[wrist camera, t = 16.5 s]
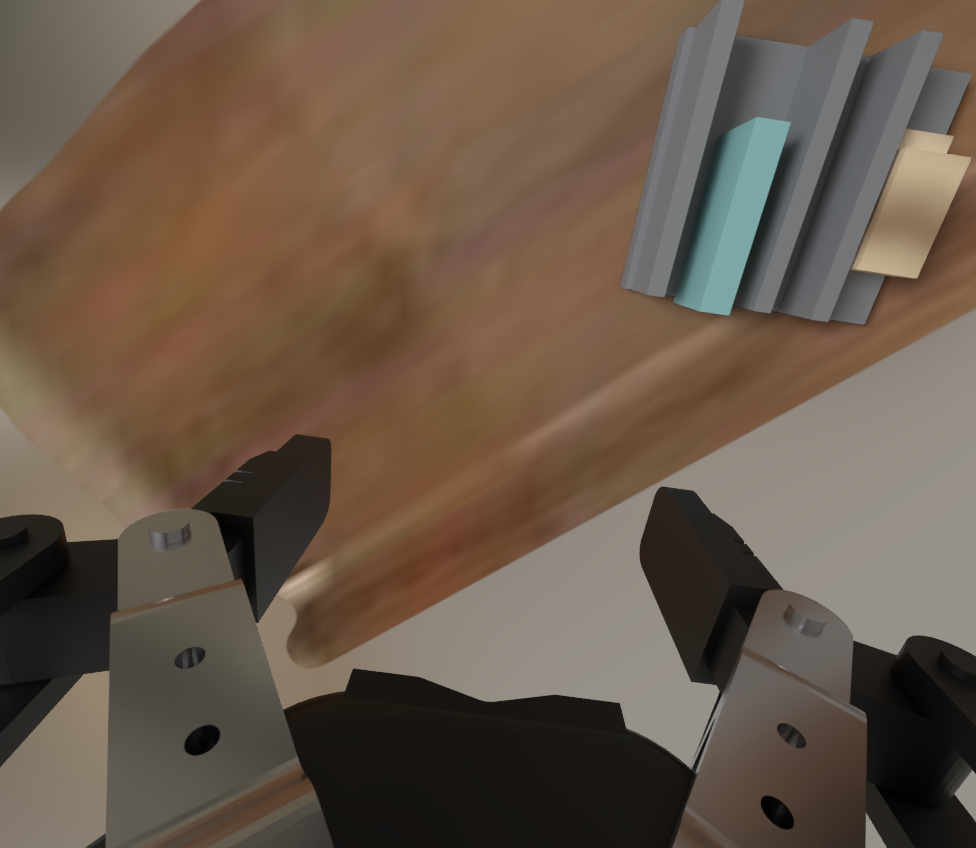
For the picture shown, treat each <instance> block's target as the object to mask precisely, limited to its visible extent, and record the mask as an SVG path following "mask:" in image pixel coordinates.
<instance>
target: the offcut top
mask: <svg viewBox="0 0 976 848" xmlns="http://www.w3.org/2000/svg"><path fill="white" fill-rule="evenodd" d="M970 160H971V158H970V157H964V156H958V155H952V154H945V153H939V152H933V151H927V150H921V149H914V148H908V147H906V148H902V149H898V150H897V152H896V154H895V157H894V159H893V162H892V164H891V167H890V169H889V172H888V174H887V177H886V179H885V182H884V184H883V187H882V189H881V192H880V194H879V197H878V199H877V202H876V204H875V207H874V209H873V212H872V214H871V217H870V219H869V222H868V224H867V227H866V229H865V232H864V234H863V237H862V239H861V242H860V244H859V247H858V249H857V252H856V254H855V257H854V259H853V262H852V264H851V267H850V269H849V270H852V271H859V272H865V273H872V274H878V275H885V276H891V277H902V278H915V279H917V277H918V275H919V273H920V271H921V268H922V266H923V264H924V262H925V260H926V257H927V255H928V253H929V251H930V249H931V246H932V244H933V242H934V240H935V238H936V235H937V233H938V231H939V229H940V226H941V224H942V222H943V220H944V218H945V215H946V213H947V211H948V209H949V207H950V204H951V202H952V200H953V198H954V196H955V193H956V191H957V189H958V187H959V185H960V182H961V180H962V178H963V176H964V174H965V171H966V169H967V167H968V165H969V163H970Z"/></svg>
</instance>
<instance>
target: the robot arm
mask: <svg viewBox="0 0 976 848" xmlns="http://www.w3.org/2000/svg"><path fill="white" fill-rule="evenodd" d="M330 485H331V443H330V440H329V439H327V438H320V437H313V436H306V435H299V434H296V435H295V436H293V437H292V438H291V439H290V440H289V441H288V442H287V443H286V444H284V445H283V446H282V447H281V448H280V449H279V450H278V451H277V452H276V451H268V452H266V453H263V454H261V455H258V456H256V457H253V458H251V459H249V460H248V461H247V462H246V463H245V464H243V465H242V466H241V467H240V468H239V469H237V472H234V473H233V474H232V475H230V476H229V477H228V478H227V479H226V481H225V482H222V483H221V484H220V485H218V486H217V487H216V488H215V489H214V490H213V491H211V492H210V493H209V494H208V495H207V496H205V497H204V498H203V499H202V500H201V501H200V502H198V503H197V504H196V505H195V506H194V507H192V508H191V509H175V510H168V511H163V512H159V513H155V514H152V515H149V516H146V517H144V518H141V519H139V520H137V521H136V522H134V523H132V524H131V525H129V526H128V527H127V528H126V529H125V530H124V531H123V532H122V533H121V535H120V537H119V539H115V540H97V541H82V542H81V541H80V542H67V540H66V536H65V531H64V526H63V524H62V522H61V521H60V520H58V519H56V518H53V517H51V516H46V515H34V514H33V515H17V516H10V517H4V518H0V767H1V766H2V765H3V763H4V762H5V761H6V760H7V759H8V758H9V757H10V756H11V754H12V753H13V752H14V751H15V750H16V749H17V748H18V747H19V746H20V744H21V743H22V742H23V741H24V740H25V739H26V738H27V737H28V736H29V734H30V733H31V732H32V731H33V730H34V729H35V728H36V727H37V725H38V724H39V723H40V722H41V721H42V720H43V719H44V718H45V716H46V715H47V714H48V713H49V712H50V711H51V710H52V709H53V708H54V706H55V705H56V704H57V703H58V702H59V701H60V700H61V699H62V698H63V697H64V695H65V694H66V693H67V692H68V691H69V690H70V689H71V688H72V687H73V685H74V684H75V683H76V682H77V681H78V680H79V679H80V678H81V677H82V675H83V674H87V673H94V672H101V671H109V708H108V711H109V713H108V755H107V802H106V803H107V804H106V833H105V834H104V835H102V836H101V837H100V838H98V839H97V840H95V841H94V842H93V843H91V844H90V845H88V846H87V847H86V848H865V837H866V813H867V815H868V816H869V818H870V820H871V821H872V823H873V825H874V826H875V828H876V830H877V832H878V833H879V835H880V836H881V838H882V840H883V842H884V843H885V845H886V847H887V848H976V822H975V820H974V819H973V818H972V816H971V815H970V814H969V813H968V811H967V810H966V809H965V808H964V806H963V805H962V804H961V803H960V801H959V800H958V798H957V797H956V796H955V795H954V793H955V792H956V791H957V789H958V788H959V787H960V785H961V784H962V783H963V781H964V780H965V779H966V778H967V776H968V775H969V774H970V773H971V771H972V770H973V771H974V772H975V773H976V656H974V655H972V654H971V653H969V652H966V651H965V650H963V649H961V648H959V647H957V646H954V645H952V644H950V643H947V642H944V641H942V640H939V639H935V638H932V637H927V636H912V637H910V638H908V639H907V640H906V642H905V644H904V645H903V647H902V649H901V650H900V652H899V653H898V655H894V654H891V653H888V652H885V651H882V650H879V649H877V648H874V647H871V646H868V645H865V644H862V643H859V642H856V641H853V636H852V633H851V631H850V630H849V628H848V627H847V626H846V624H845V623H844V622H843V621H842V620H841V619H840V618H839V617H838V616H837V615H835V614H834V613H833V612H832V611H830V610H829V609H827V608H826V607H824V606H823V605H821V604H819V603H818V602H816V601H814V600H812V599H810V598H808V597H805V596H803V595H800V594H797V593H794V592H790V591H785V590H783V589H782V587H781V586H780V585H779V584H778V582H777V581H776V580H775V579H774V578H773V576H772V575H771V574H770V573H769V571H768V570H767V569H766V568H765V566H764V565H763V564H762V563H761V562H760V560H759V559H758V558H757V557H756V556H754V553H753V552H752V551H751V549H750V548H749V547H748V546H747V544H744V541H743V539H742V538H741V537H740V536H739V535H738V533H737V532H736V531H735V530H734V528H733V527H731V526H730V525H729V524H727V523H726V522H725V521H723V520H722V519H720V518H719V517H718V516H716V515H715V514H712V513H711V512H710V510H709V509H708V508H707V507H706V505H705V504H704V503H703V502H702V500H701V499H700V498H699V496H698V495H697V494H696V493H695V492H694V491H691V490H684V489H676V488H669V487H660V488H659V489H658V491H657V492H656V494H655V497H654V500H653V504H652V507H651V510H650V513H649V517H648V520H647V523H646V526H645V530H644V533H643V536H642V539H641V544H640V562H641V566H642V568H643V571H644V573H645V576H646V578H647V580H648V583H649V585H650V587H651V590H652V592H653V594H654V597H655V599H656V601H657V604H658V606H659V608H660V610H661V613H662V615H663V617H664V620H665V622H666V624H667V627H668V629H669V631H670V634H671V636H672V638H673V640H674V643H675V645H676V648H677V650H678V652H679V654H680V657H681V659H682V661H683V664H684V666H685V668H686V670H687V673H688V675H689V678H690V680H691V682H698V683H705V684H713V685H717V687H718V689H719V691H720V692H719V694H718V696H717V699H716V701H715V703H714V705H713V708H712V710H711V713H710V716H709V718H708V721H707V723H706V726H705V729H704V731H703V733H702V736H701V739H700V741H699V744H698V746H697V749H696V751H695V754H694V756H693V759H692V761H691V764H690V767H687V765H686V764H684V763H683V762H682V761H681V760H680V759H678V758H677V757H676V756H674V755H673V754H671V753H670V752H669V751H667V750H666V749H664V748H663V747H661V746H659V745H658V744H656V743H655V742H653V741H651V740H650V739H648V738H646V737H644V736H642V735H640V734H638V733H636V732H634V731H631V730H628V729H626V726H625V722H624V718H623V714H622V710H621V707H620V703H614V702H607V701H599V700H591V699H583V698H575V697H568V696H560V695H550V696H540V697H532V698H524V699H515V700H506V701H497V702H485V701H481V700H478V699H476V698H473V697H470V696H467V695H465V694H462V693H460V692H457V691H454V690H451V689H449V688H446V687H444V686H441V685H438V684H436V683H433V682H431V681H428V680H426V679H423V678H420V677H414V676H407V675H398V674H391V673H384V672H376V671H368V670H360V669H353V670H352V673H351V676H350V679H349V682H348V685H347V687H346V690H345V691H344V692H337V693H331V694H327V695H322V696H318V697H314V698H311V699H308V700H306V701H303V702H300V703H297V704H295V705H293V706H291V707H288V708H286V709H284V710H283V708H282V705H281V702H280V698H279V695H278V692H277V689H276V686H275V682H274V679H273V677H272V673H271V670H270V666H269V663H268V660H267V657H266V654H265V650H264V647H263V644H262V641H261V638H260V635H259V631H258V628H257V625H256V623H258V622H259V620H260V619H261V617H262V616H263V614H264V613H265V611H266V610H267V608H268V607H269V605H270V604H271V602H272V601H273V599H274V597H275V596H276V594H277V593H278V591H279V590H280V588H281V587H282V585H283V584H284V582H285V581H286V579H287V577H288V576H289V574H290V573H291V571H292V570H293V568H294V567H295V565H296V564H297V562H298V560H299V559H300V557H301V556H302V554H303V553H304V551H305V550H306V548H307V547H308V545H309V544H310V542H311V540H312V539H313V537H314V536H315V534H316V533H317V531H318V530H319V528H320V527H321V525H322V523H323V522H324V520H325V518H326V515H327V512H328V508H329V503H330Z"/></svg>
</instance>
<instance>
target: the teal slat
mask: <svg viewBox="0 0 976 848" xmlns="http://www.w3.org/2000/svg"><path fill="white" fill-rule="evenodd" d="M790 124H791V122H786V121H780V120H773V119H767V118H760V117H756V118H754V119H752V120H750V121H748V122H746V123H744V124H742V125H740V126H738V127H736V128H734V129H732V130H730V131H728V132H726V133H724V134H722V135H720V136H719V138H718V142H717V145H716V149H715V153H714V156H713V160H712V163H711V167H710V171H709V174H708V178H707V182H706V185H705V189H704V193H703V196H702V200H701V204H700V207H699V211H698V215H697V218H696V222H695V225H694V229H693V233H692V236H691V240H690V244H689V247H688V251H687V255H686V258H685V262H684V266H683V269H682V273H681V277H680V280H679V284H678V287H677V291H676V295H675V298H674V302H673V303H676V304H679V305H682V306H685V307H688V308H691V309H694V310H697V311H701V312H708V313H714V314H721V315H728V316H729V315H730V312H731V308H732V305H733V302H734V299H735V296H736V293H737V290H738V286H739V283H740V280H741V277H742V274H743V271H744V268H745V265H746V261H747V258H748V255H749V252H750V249H751V246H752V243H753V240H754V236H755V233H756V230H757V227H758V224H759V221H760V218H761V214H762V211H763V208H764V205H765V202H766V199H767V196H768V193H769V189H770V186H771V183H772V180H773V177H774V174H775V171H776V167H777V164H778V161H779V158H780V155H781V152H782V149H783V146H784V142H785V139H786V136H787V133H788V130H789V127H790Z"/></svg>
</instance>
